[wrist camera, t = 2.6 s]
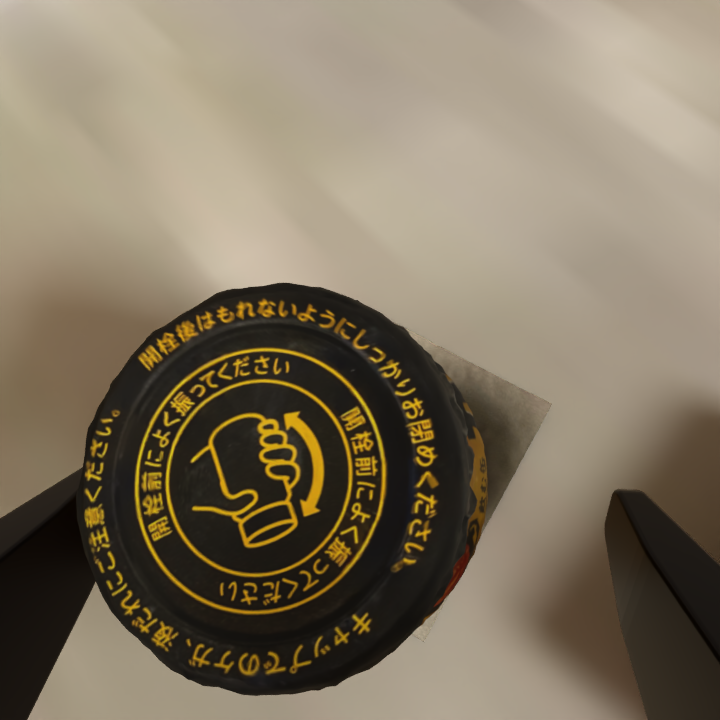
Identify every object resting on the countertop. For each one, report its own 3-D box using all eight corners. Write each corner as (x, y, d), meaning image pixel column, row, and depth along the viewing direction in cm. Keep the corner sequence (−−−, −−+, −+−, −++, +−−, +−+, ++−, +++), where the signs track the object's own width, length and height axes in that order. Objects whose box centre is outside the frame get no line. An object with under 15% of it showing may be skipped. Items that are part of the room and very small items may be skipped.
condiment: (237, 514, 19) (-95, 562, 7) (362, 306, 20) (253, 50, 8) (423, 640, 17) (392, 975, 5) (550, 405, 18) (751, 260, 6)
